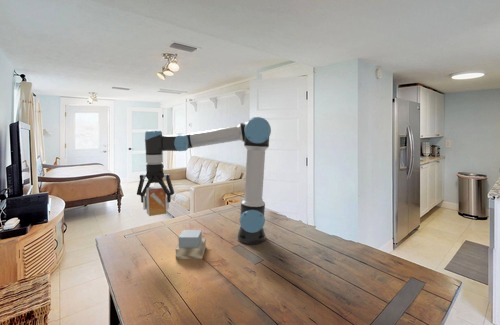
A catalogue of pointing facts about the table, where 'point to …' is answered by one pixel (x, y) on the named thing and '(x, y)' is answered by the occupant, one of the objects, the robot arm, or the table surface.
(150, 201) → the small box
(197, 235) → the tower top
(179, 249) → the tower base
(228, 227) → the table surface
